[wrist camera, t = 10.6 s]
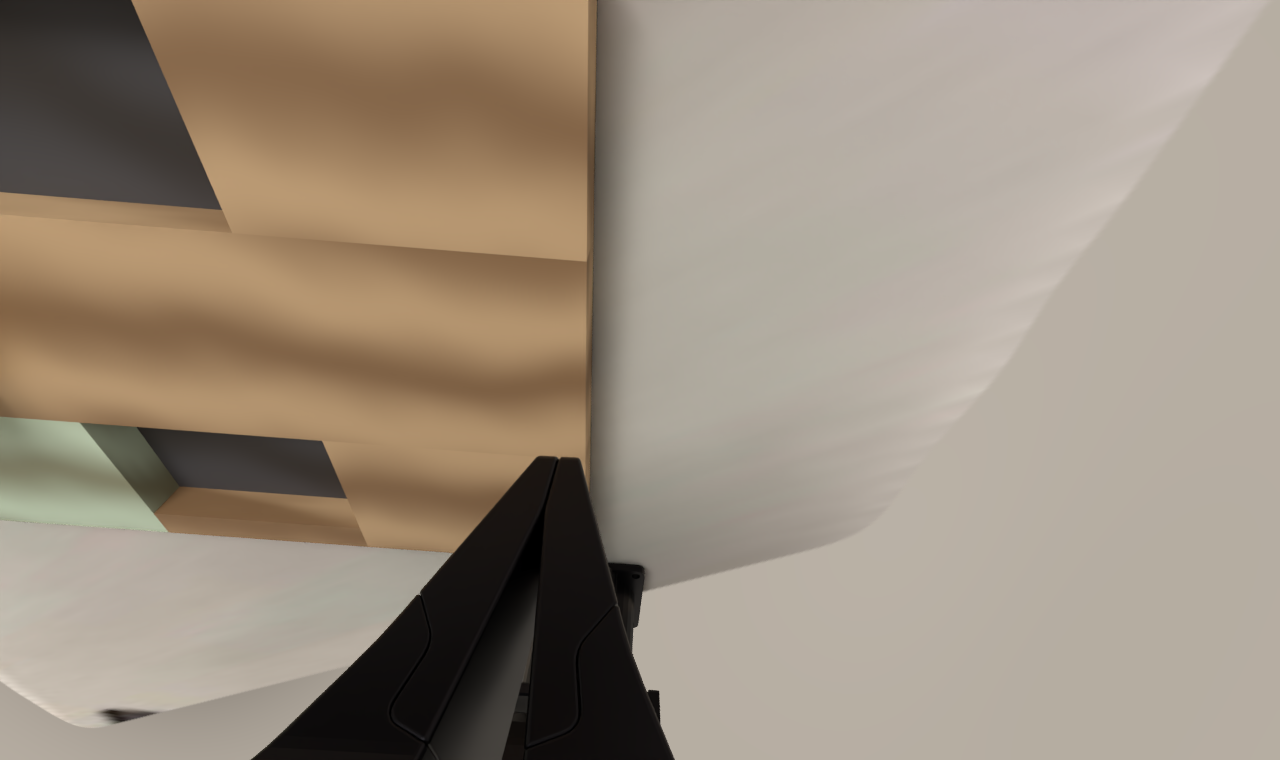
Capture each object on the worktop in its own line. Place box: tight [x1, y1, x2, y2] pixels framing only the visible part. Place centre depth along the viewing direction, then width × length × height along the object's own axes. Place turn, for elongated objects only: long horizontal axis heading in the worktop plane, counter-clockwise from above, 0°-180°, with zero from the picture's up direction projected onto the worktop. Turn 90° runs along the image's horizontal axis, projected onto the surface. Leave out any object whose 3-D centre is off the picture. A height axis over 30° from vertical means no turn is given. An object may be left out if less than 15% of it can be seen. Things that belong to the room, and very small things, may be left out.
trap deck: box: [0, 0, 597, 553], centre depth 19 cm, size 24×32×2 cm
